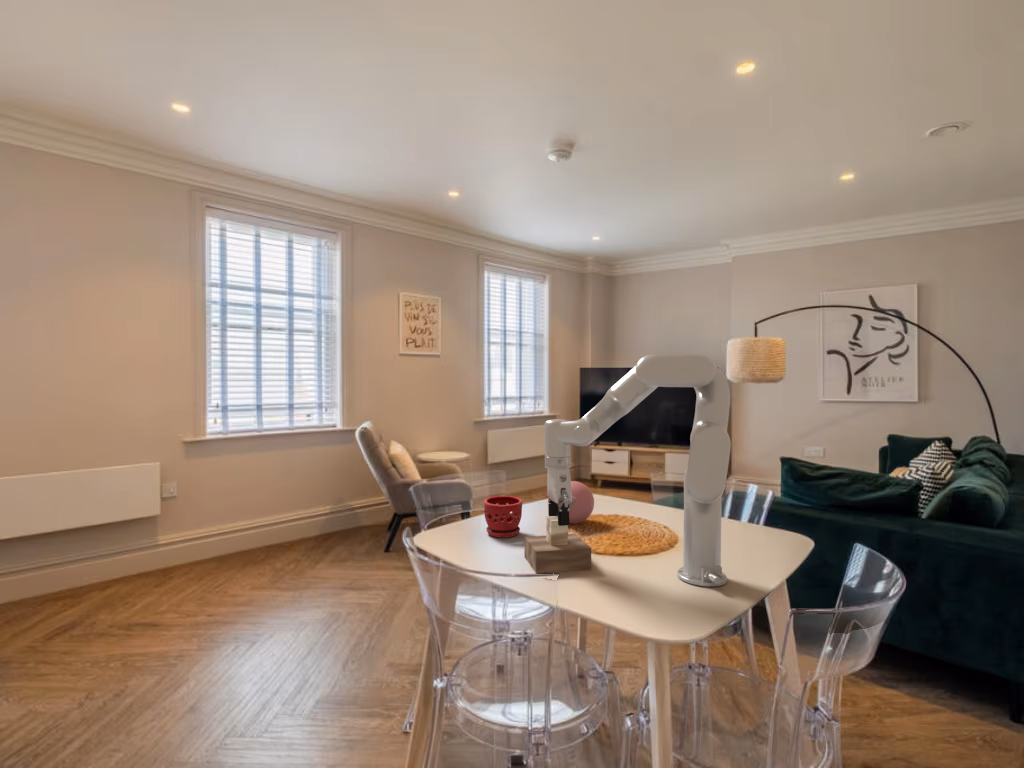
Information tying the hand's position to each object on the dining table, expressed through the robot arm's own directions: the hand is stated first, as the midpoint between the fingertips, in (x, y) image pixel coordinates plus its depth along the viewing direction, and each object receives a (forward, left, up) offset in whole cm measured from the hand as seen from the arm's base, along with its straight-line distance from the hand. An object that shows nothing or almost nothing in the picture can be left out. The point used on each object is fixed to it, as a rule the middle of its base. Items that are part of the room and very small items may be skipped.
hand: (558, 520), depth 155 cm
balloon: (+39, -17, -13) cm, 44 cm away
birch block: (0, 0, -6) cm, 6 cm away
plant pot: (+31, +10, -13) cm, 35 cm away
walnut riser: (0, 0, -12) cm, 12 cm away
